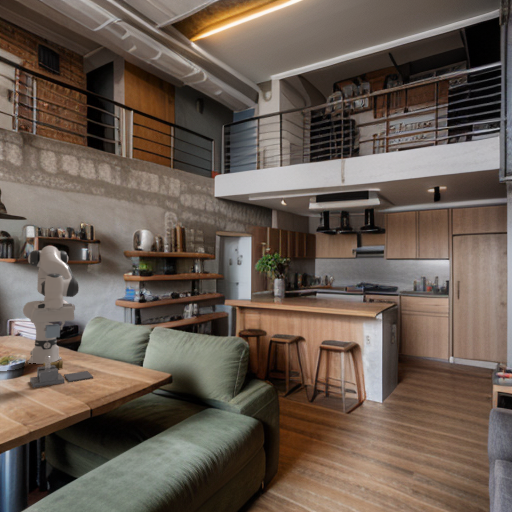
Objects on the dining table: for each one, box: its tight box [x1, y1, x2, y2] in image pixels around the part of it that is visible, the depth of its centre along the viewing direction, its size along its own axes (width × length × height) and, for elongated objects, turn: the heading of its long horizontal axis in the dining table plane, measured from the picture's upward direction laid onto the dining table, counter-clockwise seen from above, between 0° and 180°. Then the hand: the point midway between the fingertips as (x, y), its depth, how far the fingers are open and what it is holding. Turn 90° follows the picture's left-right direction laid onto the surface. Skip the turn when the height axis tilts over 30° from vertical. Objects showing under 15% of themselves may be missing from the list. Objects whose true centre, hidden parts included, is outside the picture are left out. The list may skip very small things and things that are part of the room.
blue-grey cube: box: [45, 323, 61, 338], centre depth 187 cm, size 6×6×6 cm
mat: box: [63, 370, 94, 383], centre depth 194 cm, size 14×12×1 cm
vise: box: [29, 356, 66, 389], centre depth 185 cm, size 13×14×14 cm
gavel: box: [42, 360, 64, 369], centre depth 202 cm, size 21×5×10 cm
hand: (52, 330), depth 187 cm, fingers closed on blue-grey cube, 6 cm apart
